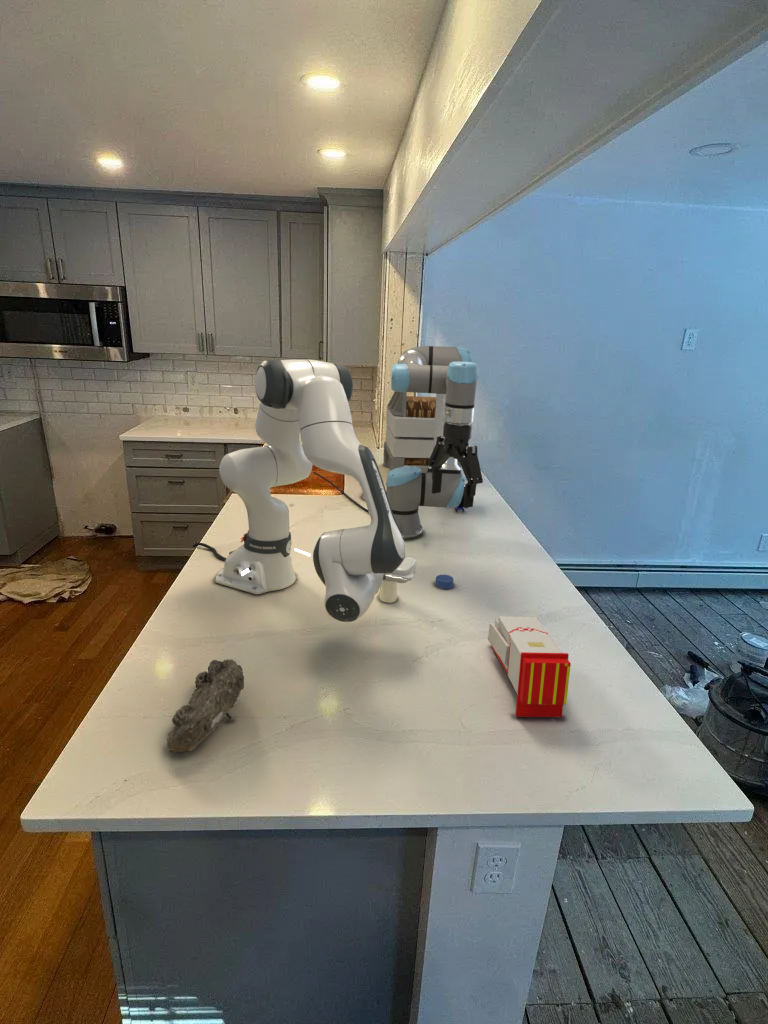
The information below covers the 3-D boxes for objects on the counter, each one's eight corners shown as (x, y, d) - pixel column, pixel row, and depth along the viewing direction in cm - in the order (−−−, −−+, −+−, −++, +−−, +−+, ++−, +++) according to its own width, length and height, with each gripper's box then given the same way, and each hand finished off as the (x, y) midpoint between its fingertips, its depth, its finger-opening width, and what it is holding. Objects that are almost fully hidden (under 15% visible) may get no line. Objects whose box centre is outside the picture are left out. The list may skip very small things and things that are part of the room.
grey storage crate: (382, 463, 289) (386, 382, 275) (445, 464, 293) (451, 384, 279) (390, 482, 257) (394, 392, 243) (460, 483, 261) (468, 394, 247)
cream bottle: (390, 592, 158) (393, 541, 153) (400, 600, 155) (403, 548, 149) (376, 596, 156) (378, 545, 151) (385, 604, 152) (388, 551, 147)
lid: (436, 588, 162) (436, 582, 161) (434, 580, 167) (434, 574, 166) (454, 589, 162) (454, 582, 161) (451, 581, 167) (452, 574, 166)
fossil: (192, 660, 117) (244, 628, 112) (224, 691, 120) (276, 661, 115) (142, 746, 98) (202, 712, 93) (182, 779, 101) (242, 748, 96)
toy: (534, 602, 136) (579, 659, 107) (529, 653, 139) (572, 723, 110) (484, 601, 136) (516, 658, 107) (480, 652, 139) (510, 722, 109)
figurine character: (469, 517, 223) (463, 501, 236) (471, 500, 219) (465, 484, 233) (452, 516, 222) (447, 500, 236) (454, 499, 219) (449, 483, 232)
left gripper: (411, 569, 122) (422, 544, 135) (321, 555, 126) (340, 532, 139) (409, 595, 124) (420, 568, 137) (320, 580, 128) (340, 556, 141)
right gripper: (418, 415, 156) (413, 488, 163) (480, 433, 137) (471, 515, 144) (439, 413, 160) (434, 485, 167) (502, 431, 141) (493, 511, 148)
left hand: (379, 550), depth 138 cm, fingers open, 8 cm apart
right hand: (451, 499), depth 156 cm, fingers open, 13 cm apart
